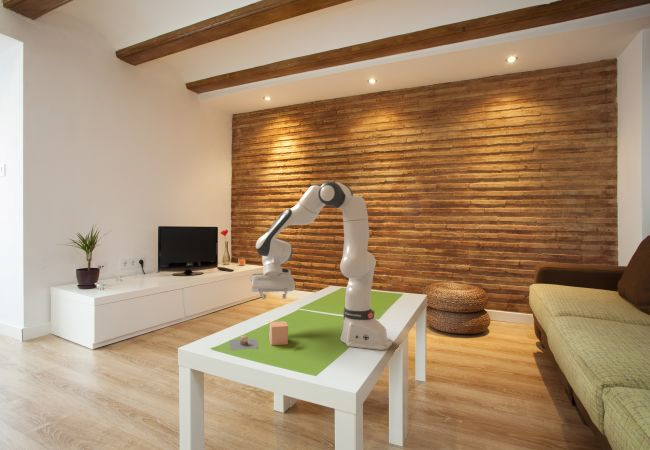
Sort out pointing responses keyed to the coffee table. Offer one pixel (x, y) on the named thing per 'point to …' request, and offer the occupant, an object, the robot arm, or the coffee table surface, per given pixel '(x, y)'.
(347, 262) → the robot arm
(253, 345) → the mat
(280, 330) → the peach foam cube
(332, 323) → the coffee table surface
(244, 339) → the tan rounded cylinder
